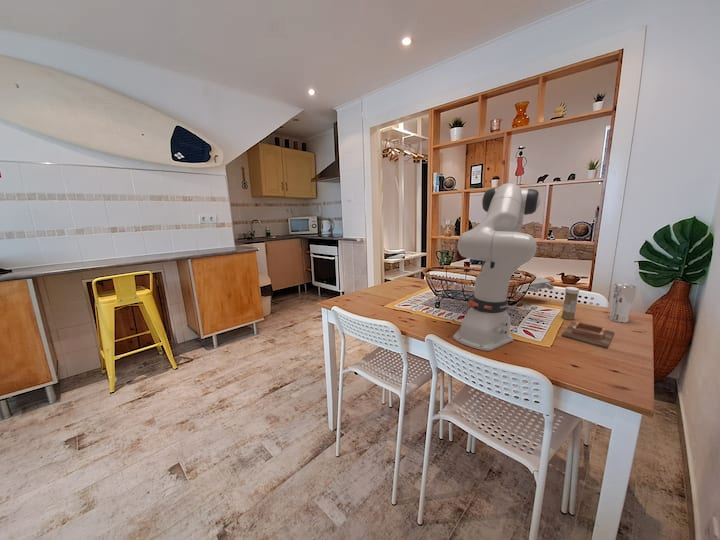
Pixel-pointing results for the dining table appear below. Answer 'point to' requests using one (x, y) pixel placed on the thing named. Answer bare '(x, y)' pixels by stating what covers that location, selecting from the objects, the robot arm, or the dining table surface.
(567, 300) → the sprinkles bottle
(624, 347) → the dining table surface
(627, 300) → the beer glass
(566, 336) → the tube stand
